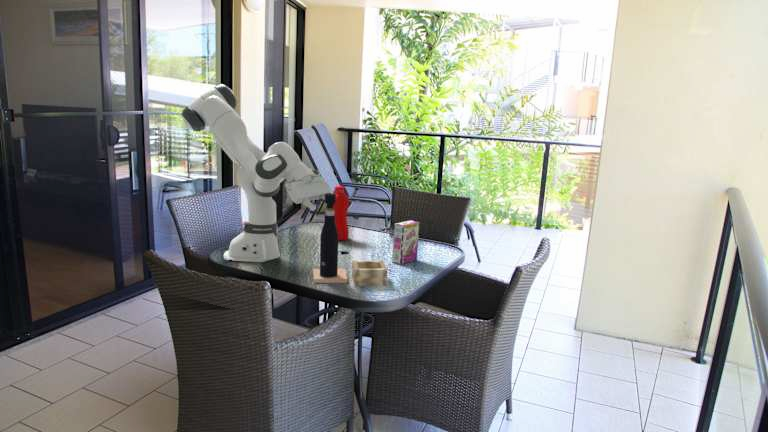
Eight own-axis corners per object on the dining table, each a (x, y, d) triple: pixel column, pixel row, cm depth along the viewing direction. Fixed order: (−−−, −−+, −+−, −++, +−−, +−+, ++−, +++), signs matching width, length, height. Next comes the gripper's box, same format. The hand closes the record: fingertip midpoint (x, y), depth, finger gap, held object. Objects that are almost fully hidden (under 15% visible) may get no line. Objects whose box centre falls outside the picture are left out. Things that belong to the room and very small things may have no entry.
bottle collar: (354, 286, 205) (355, 269, 203) (351, 276, 216) (352, 260, 214) (386, 285, 206) (387, 269, 205) (382, 275, 217) (382, 260, 216)
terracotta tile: (313, 283, 206) (313, 279, 206) (313, 272, 218) (313, 269, 217) (347, 282, 208) (347, 278, 208) (344, 272, 219) (344, 268, 219)
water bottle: (322, 237, 272) (323, 184, 267) (345, 236, 276) (346, 184, 271) (326, 241, 264) (327, 187, 259) (349, 241, 267) (351, 187, 262)
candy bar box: (401, 265, 232) (403, 225, 229) (391, 262, 235) (393, 223, 232) (417, 260, 241) (420, 221, 237) (408, 257, 244) (410, 219, 240)
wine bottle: (338, 272, 214) (340, 192, 208) (336, 278, 208) (338, 195, 202) (320, 271, 214) (322, 192, 208) (318, 277, 208) (320, 195, 202)
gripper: (287, 176, 203) (309, 206, 200) (321, 170, 220) (342, 198, 218) (277, 187, 206) (299, 217, 203) (312, 181, 223) (332, 208, 221)
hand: (322, 207), depth 211 cm, fingers open, 8 cm apart
